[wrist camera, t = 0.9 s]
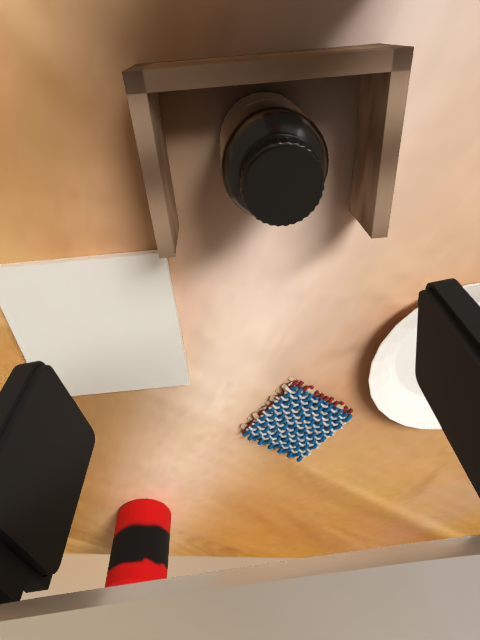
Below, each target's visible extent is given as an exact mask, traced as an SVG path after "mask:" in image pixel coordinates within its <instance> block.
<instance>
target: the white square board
mask: <svg viewBox="0 0 480 640" xmlns="http://www.w3.org/2000/svg"><path fill="white" fill-rule="evenodd" d="M0 307H1V309H2V311H3V313H4V315H5V317H6V319H7V322H8V324H9V326H10V328H11V330H12V332H13V334H14V336H15V338H16V341H17V343H18V345H19V347H20V349H21V351H22V353H23V355H24V357H25V360H26V362H27V363H30V362H35V361H42V362H43V363H45V365H50V366H51V367H52V368H53V369H54V371H55V372H56V374H57V375H58V377H59V378H60V380H61V382H62V383H63V385H64V386H65V388H66V389H67V391H68V392H69V394H70V395H71V396H80V395H90V394H100V393H110V392H120V391H130V390H140V389H151V388H161V387H171V386H181V385H190V376H189V371H188V365H187V360H186V355H185V349H184V344H183V339H182V333H181V328H180V323H179V317H178V312H177V306H176V301H175V296H174V290H173V285H172V280H171V274H170V269H169V263H168V258H159V255H158V250H147V251H136V252H125V253H114V254H104V255H93V256H82V257H72V258H61V259H50V260H39V261H29V262H18V263H7V264H0Z"/></svg>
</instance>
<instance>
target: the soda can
mask: <svg viewBox="0 0 480 640" xmlns="http://www.w3.org/2000/svg"><path fill="white" fill-rule="evenodd" d="M170 525H171V512H170V510H169V509H168V508H167V506H166V505H164V504H163V503H161V502H159V501H156V500H151V499H138V500H133V501H131V502H128V503H127V504H125V505H124V506H123V507H122V508H121V509H120V510H119V512H118V516H117V522H116V527H115V533H114V539H113V544H112V550H111V555H110V561H109V567H108V572H107V578H106V584H105V588H106V587H113V586H119V585H126V584H132V583H139V582H145V581H152V580H159V579H166V578H167V569H168V554H169V540H170Z"/></svg>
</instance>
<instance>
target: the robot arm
mask: <svg viewBox="0 0 480 640" xmlns="http://www.w3.org/2000/svg"><path fill="white" fill-rule="evenodd" d="M415 375H416V380H417V383H418V385H419V387H420V389H421V391H422V393H423V395H424V396H425V398H426V400H427V402H428V404H429V406H430V407H431V409H432V411H433V413H434V415H435V417H436V419H437V420H438V422H439V424H440V426H441V428H442V430H443V431H444V433H445V435H446V437H447V439H448V441H449V442H450V444H451V446H452V448H453V450H454V452H455V454H456V455H457V457H458V459H459V461H460V463H461V465H462V466H463V468H464V470H465V472H466V474H467V476H468V478H469V479H470V481H471V483H472V485H473V487H474V489H475V490H476V492H477V494H478V496H479V498H480V306H479V305H478V304H477V302H476V301H475V300H474V299H473V298H472V297H471V296H470V295H469V294H468V292H467V291H466V290H465V289H464V288H463V287H462V286H461V285H460V284H459V282H458V281H457V280H455V279H453V278H451V279H446V280H441V281H436V282H431V283H428V284H427V286H426V290H422V291H420V292H419V298H418V319H417V340H416V361H415ZM94 443H95V435H94V431H93V429H92V428H91V426H90V425H89V423H88V421H87V420H86V418H85V417H84V415H83V414H82V412H81V411H80V409H79V408H78V406H77V405H76V403H75V401H74V400H73V398H72V397H71V395H70V394H69V392H68V391H67V389H66V388H65V386H64V385H63V383H62V382H61V380H60V378H59V377H58V375H57V374H56V372H55V371H54V369H53V368H52V367H51V366H50V365H45V363H43V362H42V361H35V362H30V363H25V364H20V365H17V366H15V368H14V369H13V370H12V372H11V374H10V376H9V377H8V379H7V381H6V383H5V384H4V386H3V388H2V390H1V391H0V640H480V535H473V536H465V537H457V538H449V539H440V540H432V541H424V542H416V543H409V544H401V545H394V546H387V547H380V548H373V549H366V550H359V551H352V552H345V553H338V554H331V555H324V556H317V557H310V558H303V559H296V560H289V561H282V562H275V563H268V564H261V565H254V566H247V567H241V568H234V569H227V570H220V571H214V572H206V573H200V574H193V575H186V576H179V577H173V578H166V579H159V580H152V581H145V582H139V583H132V584H126V585H119V586H113V587H106V588H100V589H93V590H86V591H80V592H74V593H67V594H60V595H53V596H47V597H40V598H35V599H28V600H22V601H20V599H21V596H22V593H23V591H25V592H26V593H28V592H34V591H41V590H48V588H49V585H50V581H51V578H52V574H55V573H56V572H57V570H58V569H59V566H60V564H61V560H62V557H63V553H64V550H65V546H66V542H67V539H68V535H69V532H70V528H71V525H72V521H73V518H74V514H75V511H76V507H77V504H78V500H79V497H80V493H81V489H82V486H83V482H84V479H85V475H86V472H87V468H88V465H89V461H90V458H91V454H92V451H93V447H94Z"/></svg>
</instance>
